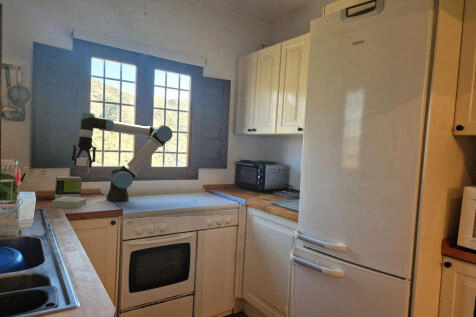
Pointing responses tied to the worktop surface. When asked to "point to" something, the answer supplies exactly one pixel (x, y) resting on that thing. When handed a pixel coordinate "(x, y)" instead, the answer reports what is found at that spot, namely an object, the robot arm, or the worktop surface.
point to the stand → (69, 202)
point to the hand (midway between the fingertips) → (82, 172)
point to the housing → (82, 166)
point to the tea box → (68, 187)
